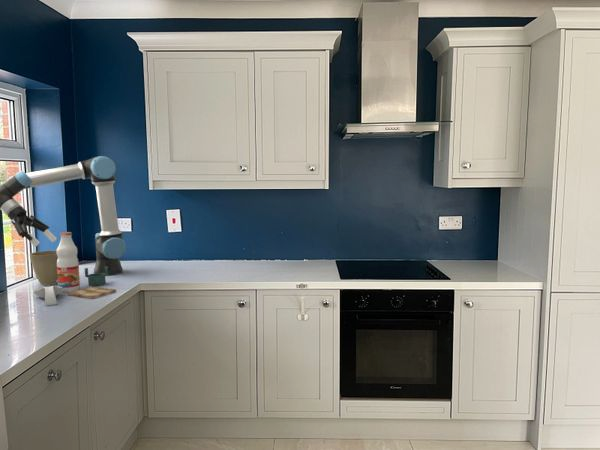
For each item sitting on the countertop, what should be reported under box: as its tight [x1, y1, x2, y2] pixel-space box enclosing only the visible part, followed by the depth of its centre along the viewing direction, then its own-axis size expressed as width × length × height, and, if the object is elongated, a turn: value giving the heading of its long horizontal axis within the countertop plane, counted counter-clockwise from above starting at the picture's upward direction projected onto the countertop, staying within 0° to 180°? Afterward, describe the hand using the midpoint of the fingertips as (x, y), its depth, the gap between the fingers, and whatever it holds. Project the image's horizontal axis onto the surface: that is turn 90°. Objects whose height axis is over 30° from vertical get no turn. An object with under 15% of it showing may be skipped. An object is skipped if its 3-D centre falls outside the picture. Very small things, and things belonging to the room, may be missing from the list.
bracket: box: [84, 266, 109, 287], centre depth 242 cm, size 9×9×9 cm
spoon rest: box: [32, 285, 62, 307], centre depth 215 cm, size 24×12×7 cm, turn 32°
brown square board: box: [67, 286, 117, 300], centre depth 224 cm, size 14×15×1 cm
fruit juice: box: [55, 231, 81, 293], centre depth 230 cm, size 9×9×28 cm
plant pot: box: [29, 250, 58, 286], centre depth 245 cm, size 15×15×16 cm
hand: (46, 242), depth 229 cm, fingers open, 13 cm apart
